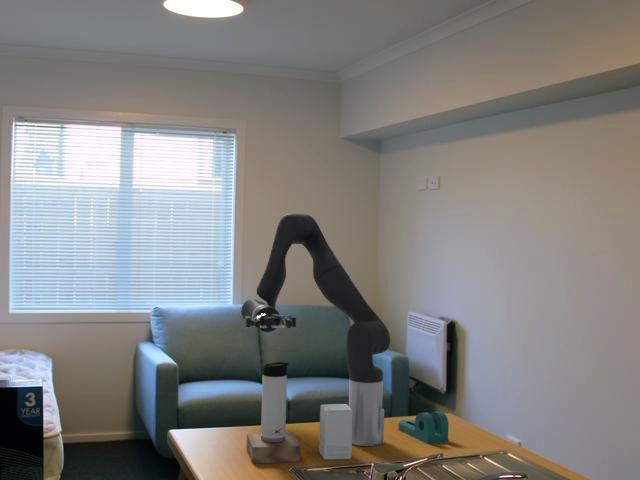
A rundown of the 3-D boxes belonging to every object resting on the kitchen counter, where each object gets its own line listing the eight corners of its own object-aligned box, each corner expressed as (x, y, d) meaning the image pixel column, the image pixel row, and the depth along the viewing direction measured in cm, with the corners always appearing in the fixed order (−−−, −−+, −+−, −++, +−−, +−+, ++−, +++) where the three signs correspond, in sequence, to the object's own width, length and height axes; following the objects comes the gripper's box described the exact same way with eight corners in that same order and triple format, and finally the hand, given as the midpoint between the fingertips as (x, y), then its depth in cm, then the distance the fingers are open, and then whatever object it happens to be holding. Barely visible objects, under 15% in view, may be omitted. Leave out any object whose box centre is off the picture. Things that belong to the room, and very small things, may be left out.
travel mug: (283, 444, 190) (285, 364, 190) (257, 441, 192) (259, 363, 191) (289, 437, 196) (291, 360, 196) (264, 435, 198) (266, 359, 197)
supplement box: (352, 459, 192) (353, 409, 192) (323, 460, 191) (324, 410, 191) (346, 451, 200) (347, 403, 199) (318, 451, 198) (319, 403, 198)
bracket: (448, 442, 211) (448, 414, 211) (427, 444, 208) (428, 416, 208) (413, 426, 227) (414, 400, 227) (394, 428, 224) (394, 402, 224)
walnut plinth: (291, 447, 201) (291, 432, 201) (300, 461, 189) (300, 445, 189) (246, 449, 198) (246, 434, 198) (252, 463, 187) (252, 447, 187)
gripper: (241, 305, 223) (248, 310, 207) (289, 305, 226) (299, 310, 210) (241, 330, 223) (248, 338, 207) (288, 330, 226) (299, 337, 210)
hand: (274, 324), depth 209 cm, fingers open, 8 cm apart
